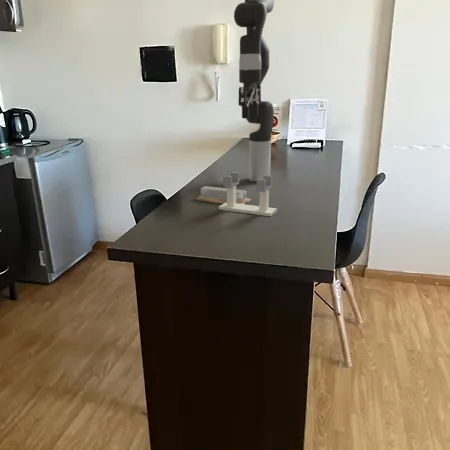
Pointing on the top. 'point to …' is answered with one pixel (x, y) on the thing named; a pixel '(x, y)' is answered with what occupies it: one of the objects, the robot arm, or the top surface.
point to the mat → (220, 200)
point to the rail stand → (231, 204)
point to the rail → (222, 193)
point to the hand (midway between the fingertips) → (250, 117)
